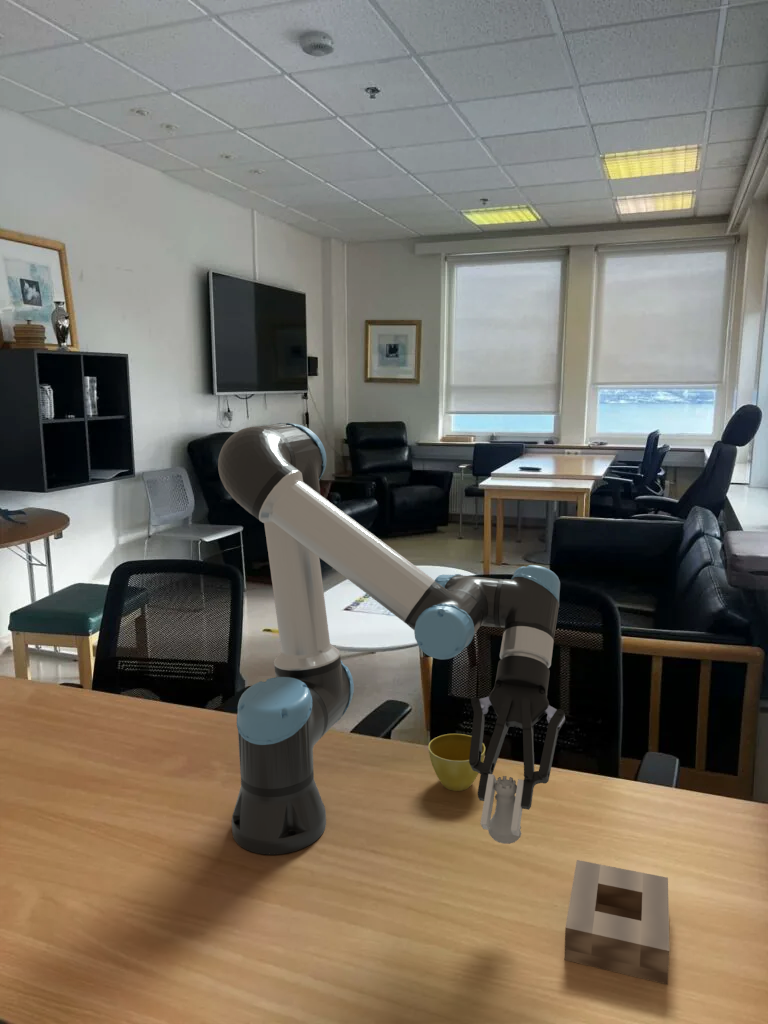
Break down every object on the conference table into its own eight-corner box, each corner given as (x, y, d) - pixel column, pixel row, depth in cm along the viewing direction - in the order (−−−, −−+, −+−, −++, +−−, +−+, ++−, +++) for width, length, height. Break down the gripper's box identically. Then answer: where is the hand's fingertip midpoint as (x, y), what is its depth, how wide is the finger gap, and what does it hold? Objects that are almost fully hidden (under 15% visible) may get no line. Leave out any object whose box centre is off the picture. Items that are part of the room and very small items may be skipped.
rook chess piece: (520, 847, 99) (522, 791, 98) (487, 843, 100) (488, 788, 98) (521, 827, 103) (523, 774, 102) (489, 823, 104) (490, 770, 103)
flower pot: (483, 801, 128) (484, 762, 127) (425, 796, 130) (425, 758, 129) (486, 771, 138) (486, 735, 137) (431, 767, 140) (431, 731, 138)
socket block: (564, 959, 93) (565, 927, 92) (575, 888, 106) (576, 859, 105) (667, 984, 89) (669, 951, 88) (666, 907, 102) (667, 877, 101)
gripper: (582, 681, 110) (565, 849, 98) (473, 667, 116) (444, 824, 103) (580, 660, 104) (561, 835, 92) (466, 646, 110) (433, 810, 97)
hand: (499, 829), depth 97 cm, fingers closed on rook chess piece, 3 cm apart
